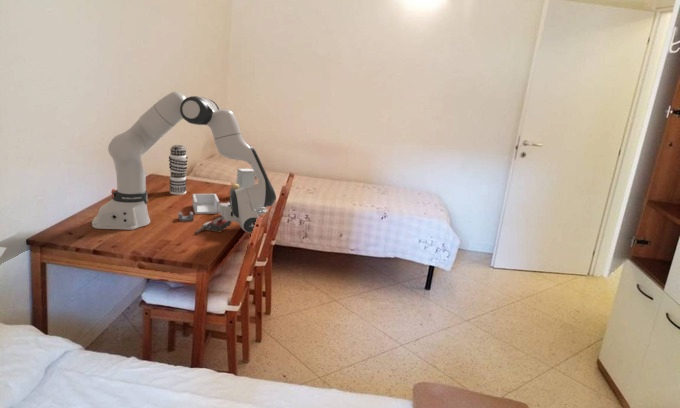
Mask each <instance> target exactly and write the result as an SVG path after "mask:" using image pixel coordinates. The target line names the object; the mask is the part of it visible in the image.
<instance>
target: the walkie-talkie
mask: <svg viewBox="0 0 680 408" xmlns="http://www.w3.org/2000/svg"><path fill="white" fill-rule="evenodd" d="M230 224H231V225H232V221H226V220H225V219H224V217H223V216H219V217H217V218H215V219H214V220H212V221H207V222H205V223H203V224H202V226H201V227H200V228H199V229H197V230H195V232H194V234H196V235H197V234H199V233H200V232H202V231H203V230H207V231H211V230H213V231H212V232H215V233H216V232H217V231H221V232H223V231H224V230H225V229H227V228H228V227H230V226H231V225H230ZM227 226H228V227H227ZM226 227H227V228H226ZM224 228H225V229H224ZM223 229H224V230H223ZM222 230H223V231H222ZM217 233H218V232H217Z"/></svg>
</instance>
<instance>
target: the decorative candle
mask: <svg viewBox="0 0 680 408" xmlns="http://www.w3.org/2000/svg"><path fill="white" fill-rule="evenodd" d="M169 149H170V154H169V156H168V162H169V167H168V168H169V171H170V176H169V186H168V187H169V193H170V194H172V195H175V196H176V195H178V196H180V195H181V196H182V195H185V194H187V175H186V173H187V172H188V171H187V168H188V167H186V166H187V165H188V160H187V159H188V156H187V153H186V152H187V148H186V147H185V146H184V145H181V144H174V145H172V146H171V147H170V148H169Z"/></svg>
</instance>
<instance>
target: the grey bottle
mask: <svg viewBox="0 0 680 408" xmlns="http://www.w3.org/2000/svg"><path fill="white" fill-rule="evenodd" d="M236 189H240V188H239V184H237V183H232V187H230V189H229V197H230V196H231V193H232V192H233V191H234V190H236Z"/></svg>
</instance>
